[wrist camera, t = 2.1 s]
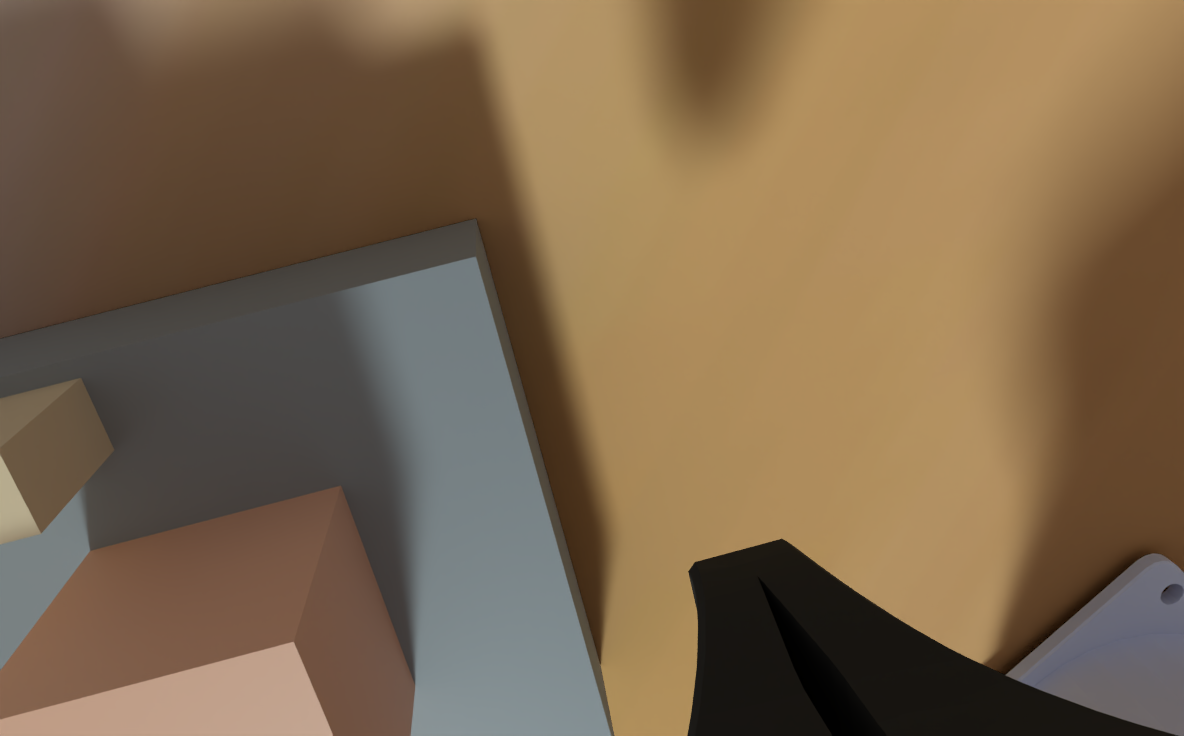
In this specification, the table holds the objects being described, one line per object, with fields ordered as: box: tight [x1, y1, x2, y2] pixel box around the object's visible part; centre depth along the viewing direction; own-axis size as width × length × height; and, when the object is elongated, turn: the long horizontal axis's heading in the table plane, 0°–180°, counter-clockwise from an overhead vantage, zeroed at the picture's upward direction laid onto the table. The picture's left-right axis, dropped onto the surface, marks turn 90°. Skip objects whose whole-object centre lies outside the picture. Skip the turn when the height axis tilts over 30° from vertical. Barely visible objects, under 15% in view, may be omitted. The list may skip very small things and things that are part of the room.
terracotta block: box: [0, 486, 415, 736], centre depth 13 cm, size 4×4×4 cm
